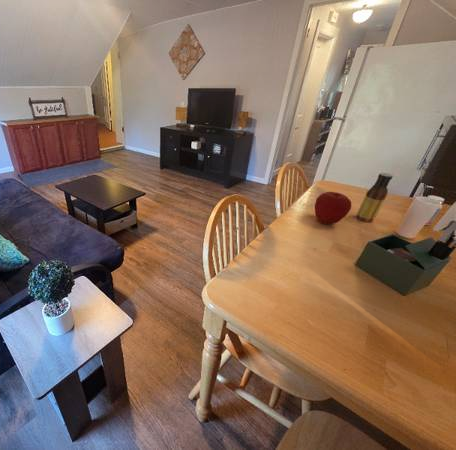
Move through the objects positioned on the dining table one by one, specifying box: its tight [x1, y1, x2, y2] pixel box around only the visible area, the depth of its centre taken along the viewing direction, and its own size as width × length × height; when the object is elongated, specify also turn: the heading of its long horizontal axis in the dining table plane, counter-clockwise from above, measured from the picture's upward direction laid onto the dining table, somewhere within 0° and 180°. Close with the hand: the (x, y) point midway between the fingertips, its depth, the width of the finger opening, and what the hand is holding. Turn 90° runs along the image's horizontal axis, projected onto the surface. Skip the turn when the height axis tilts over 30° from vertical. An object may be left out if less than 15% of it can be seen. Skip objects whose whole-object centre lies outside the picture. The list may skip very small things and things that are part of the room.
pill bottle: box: [424, 195, 445, 226], centre depth 99 cm, size 6×6×11 cm
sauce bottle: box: [356, 172, 393, 223], centre depth 99 cm, size 7×6×20 cm
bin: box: [354, 233, 450, 297], centre depth 72 cm, size 14×12×9 cm
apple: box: [314, 191, 352, 225], centre depth 98 cm, size 12×12×13 cm
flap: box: [405, 236, 452, 269], centre depth 66 cm, size 7×12×1 cm
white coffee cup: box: [396, 195, 442, 240], centre depth 90 cm, size 7×7×15 cm
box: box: [387, 248, 419, 266], centre depth 73 cm, size 6×6×7 cm
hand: (436, 256), depth 64 cm, fingers closed
